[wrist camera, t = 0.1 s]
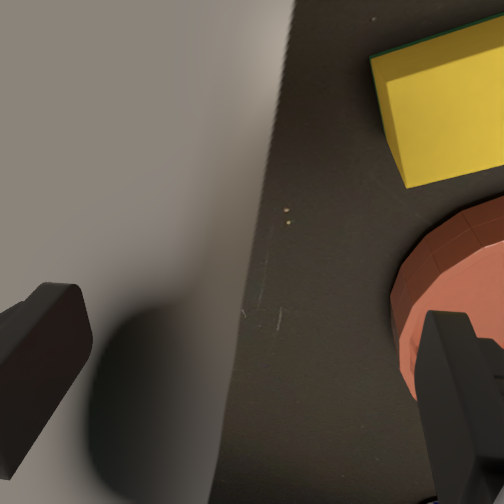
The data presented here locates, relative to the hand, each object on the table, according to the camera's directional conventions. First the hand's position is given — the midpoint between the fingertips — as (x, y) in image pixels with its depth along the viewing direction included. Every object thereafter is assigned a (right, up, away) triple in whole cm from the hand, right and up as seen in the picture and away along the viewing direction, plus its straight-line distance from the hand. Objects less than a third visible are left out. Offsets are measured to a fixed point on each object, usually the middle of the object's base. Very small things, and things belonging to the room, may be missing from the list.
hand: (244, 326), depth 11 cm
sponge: (+10, +11, +13) cm, 20 cm away
